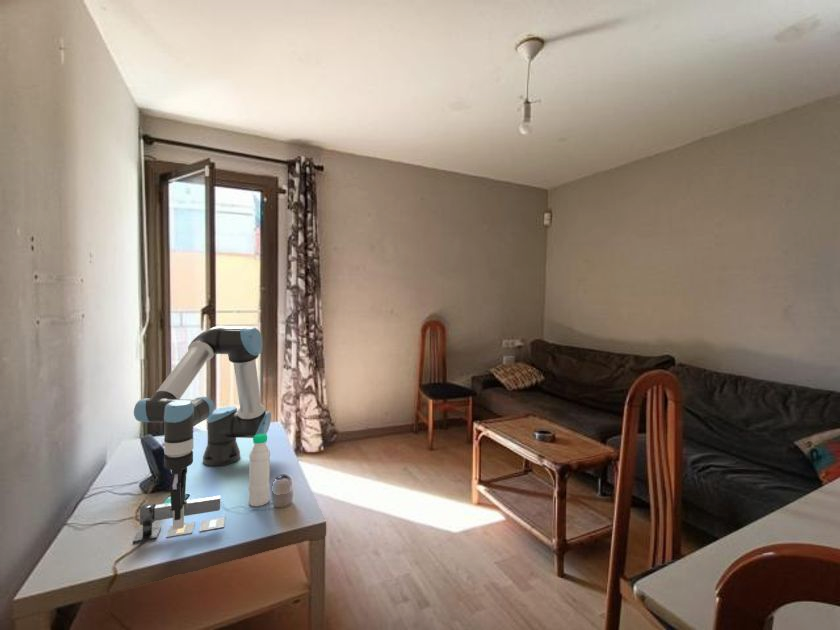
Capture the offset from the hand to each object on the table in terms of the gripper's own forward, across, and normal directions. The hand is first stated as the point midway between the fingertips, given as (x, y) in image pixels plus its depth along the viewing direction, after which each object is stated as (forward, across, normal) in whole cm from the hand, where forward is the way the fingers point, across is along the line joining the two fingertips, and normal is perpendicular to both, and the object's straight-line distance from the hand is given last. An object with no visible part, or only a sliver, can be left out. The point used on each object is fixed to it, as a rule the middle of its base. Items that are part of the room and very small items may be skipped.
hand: (178, 527), depth 118 cm
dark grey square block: (+4, -5, -9) cm, 11 cm away
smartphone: (+4, -22, -6) cm, 23 cm away
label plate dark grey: (+4, -5, +9) cm, 11 cm away
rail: (-1, -5, 0) cm, 5 cm away
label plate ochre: (+4, -5, 0) cm, 6 cm away
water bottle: (+4, -15, +23) cm, 28 cm away
